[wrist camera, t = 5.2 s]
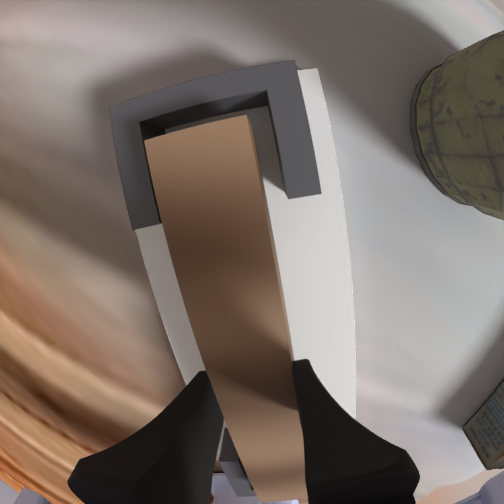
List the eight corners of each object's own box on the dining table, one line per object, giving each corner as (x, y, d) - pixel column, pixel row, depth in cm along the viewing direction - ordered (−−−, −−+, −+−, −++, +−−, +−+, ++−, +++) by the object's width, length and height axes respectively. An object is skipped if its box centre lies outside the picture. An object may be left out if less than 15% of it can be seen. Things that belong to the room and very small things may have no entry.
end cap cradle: (350, 442, 20) (360, 485, 15) (226, 456, 21) (220, 499, 16) (313, 76, 13) (328, 45, 9) (125, 119, 14) (79, 109, 10)
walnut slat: (308, 457, 17) (311, 497, 14) (261, 462, 17) (259, 502, 14) (252, 127, 12) (246, 114, 8) (176, 144, 12) (144, 140, 9)
